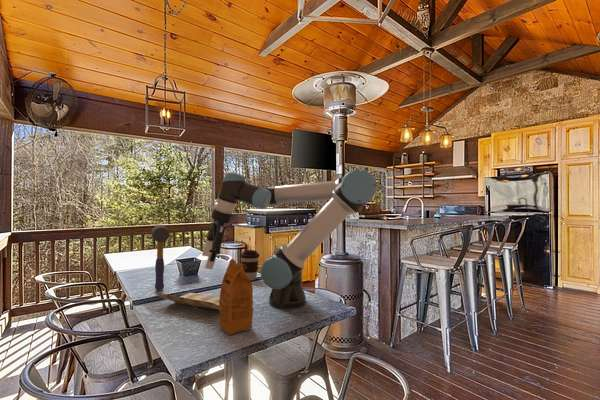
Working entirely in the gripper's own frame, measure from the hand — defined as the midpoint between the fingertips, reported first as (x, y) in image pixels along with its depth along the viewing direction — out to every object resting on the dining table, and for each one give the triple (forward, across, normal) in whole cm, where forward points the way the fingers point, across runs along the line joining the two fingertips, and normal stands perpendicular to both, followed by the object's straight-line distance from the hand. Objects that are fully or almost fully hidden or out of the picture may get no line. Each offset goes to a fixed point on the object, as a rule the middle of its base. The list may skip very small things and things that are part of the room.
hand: (206, 261), depth 122 cm
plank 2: (+14, +9, +2) cm, 16 cm away
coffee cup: (+17, -34, +32) cm, 49 cm away
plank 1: (+18, -1, -6) cm, 19 cm away
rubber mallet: (+27, -27, -11) cm, 40 cm away
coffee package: (+11, +26, +10) cm, 30 cm away
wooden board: (+18, -2, +6) cm, 19 cm away
